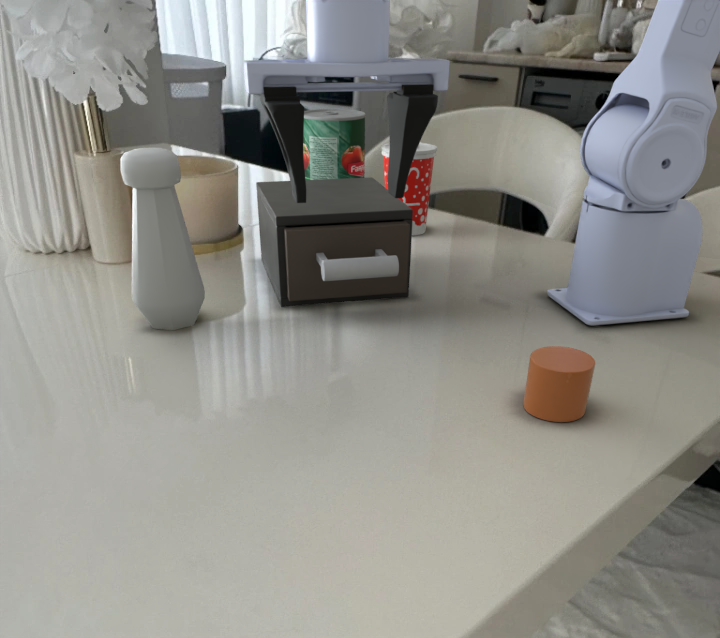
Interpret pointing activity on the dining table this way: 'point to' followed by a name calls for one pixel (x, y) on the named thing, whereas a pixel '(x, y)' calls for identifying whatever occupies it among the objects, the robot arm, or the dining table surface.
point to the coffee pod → (558, 383)
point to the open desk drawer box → (322, 222)
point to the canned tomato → (334, 144)
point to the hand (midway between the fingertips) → (348, 197)
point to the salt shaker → (161, 242)
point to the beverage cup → (416, 183)
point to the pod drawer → (346, 259)
